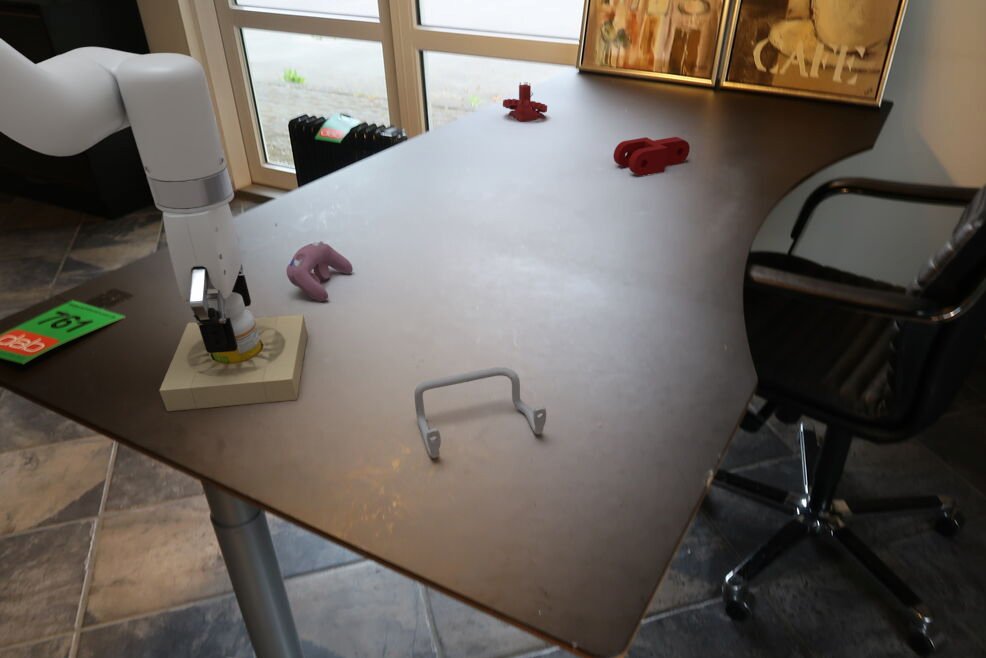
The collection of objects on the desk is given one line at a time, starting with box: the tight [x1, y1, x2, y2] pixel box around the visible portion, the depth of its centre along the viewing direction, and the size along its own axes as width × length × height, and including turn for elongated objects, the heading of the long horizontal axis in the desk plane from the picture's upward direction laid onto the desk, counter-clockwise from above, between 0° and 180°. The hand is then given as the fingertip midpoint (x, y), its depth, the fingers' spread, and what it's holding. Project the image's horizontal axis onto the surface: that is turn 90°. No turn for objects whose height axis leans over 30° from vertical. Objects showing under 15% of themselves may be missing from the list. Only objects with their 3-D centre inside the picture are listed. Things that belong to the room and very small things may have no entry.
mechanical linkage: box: [613, 136, 691, 177], centre depth 145 cm, size 16×7×5 cm, turn 119°
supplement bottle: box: [208, 292, 262, 364], centre depth 82 cm, size 5×5×10 cm
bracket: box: [414, 366, 547, 459], centre depth 76 cm, size 13×8×5 cm, turn 110°
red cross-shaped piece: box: [502, 82, 548, 123], centre depth 170 cm, size 11×12×8 cm
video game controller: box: [286, 241, 354, 302], centre depth 101 cm, size 10×5×7 cm, turn 168°
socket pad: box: [159, 314, 308, 412], centre depth 84 cm, size 14×14×3 cm
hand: (230, 327), depth 82 cm, fingers open, 9 cm apart
